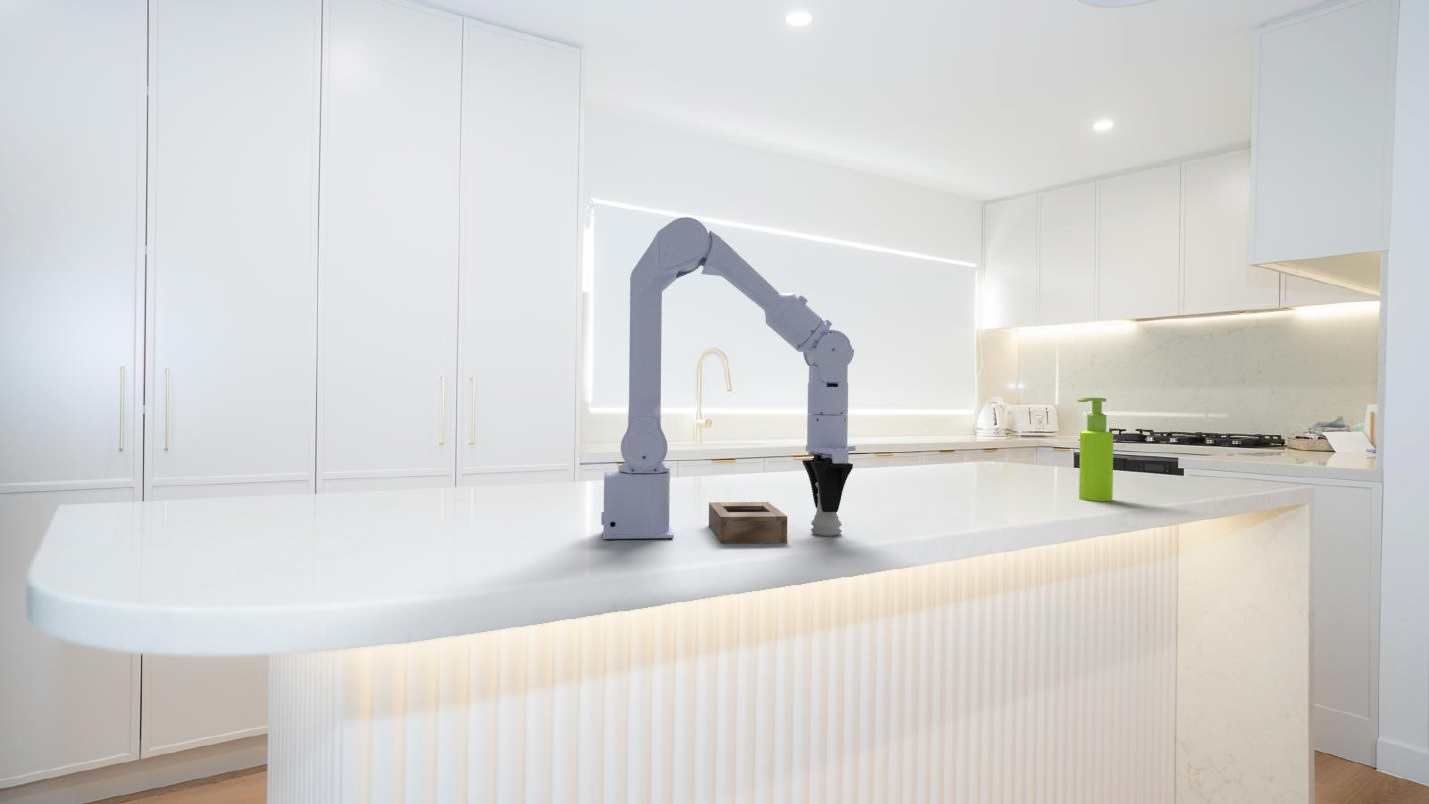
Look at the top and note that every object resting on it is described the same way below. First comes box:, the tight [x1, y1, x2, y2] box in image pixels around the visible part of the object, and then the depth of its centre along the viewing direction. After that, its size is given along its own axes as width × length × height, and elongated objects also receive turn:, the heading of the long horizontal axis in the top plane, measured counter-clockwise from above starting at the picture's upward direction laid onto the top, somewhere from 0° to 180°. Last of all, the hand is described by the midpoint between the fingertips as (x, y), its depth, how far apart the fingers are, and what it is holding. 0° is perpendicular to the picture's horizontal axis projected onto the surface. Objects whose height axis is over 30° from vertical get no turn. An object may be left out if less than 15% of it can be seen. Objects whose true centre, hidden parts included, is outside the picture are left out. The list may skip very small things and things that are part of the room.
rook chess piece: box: [810, 482, 843, 537], centre depth 111 cm, size 4×4×8 cm
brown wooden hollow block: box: [708, 501, 788, 544], centre depth 110 cm, size 9×14×4 cm, turn 7°
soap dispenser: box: [1077, 397, 1114, 502], centre depth 152 cm, size 6×7×20 cm
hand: (826, 510), depth 111 cm, fingers closed on rook chess piece, 3 cm apart
